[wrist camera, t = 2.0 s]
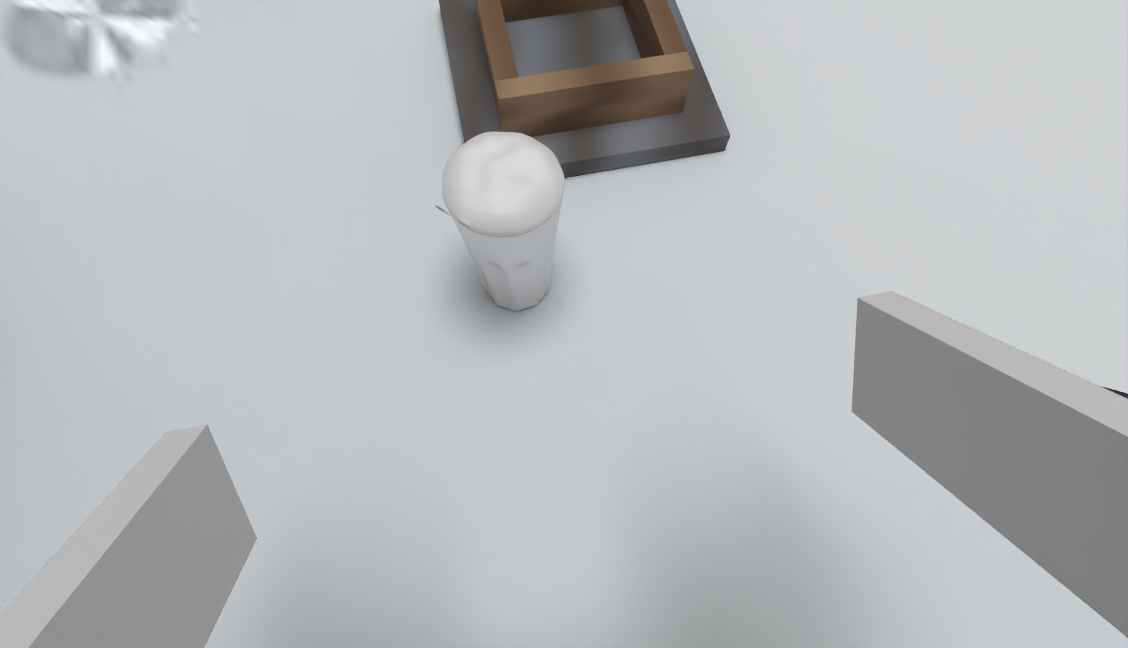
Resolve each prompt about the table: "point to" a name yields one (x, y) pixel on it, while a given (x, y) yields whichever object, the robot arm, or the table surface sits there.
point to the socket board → (583, 79)
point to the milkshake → (506, 212)
